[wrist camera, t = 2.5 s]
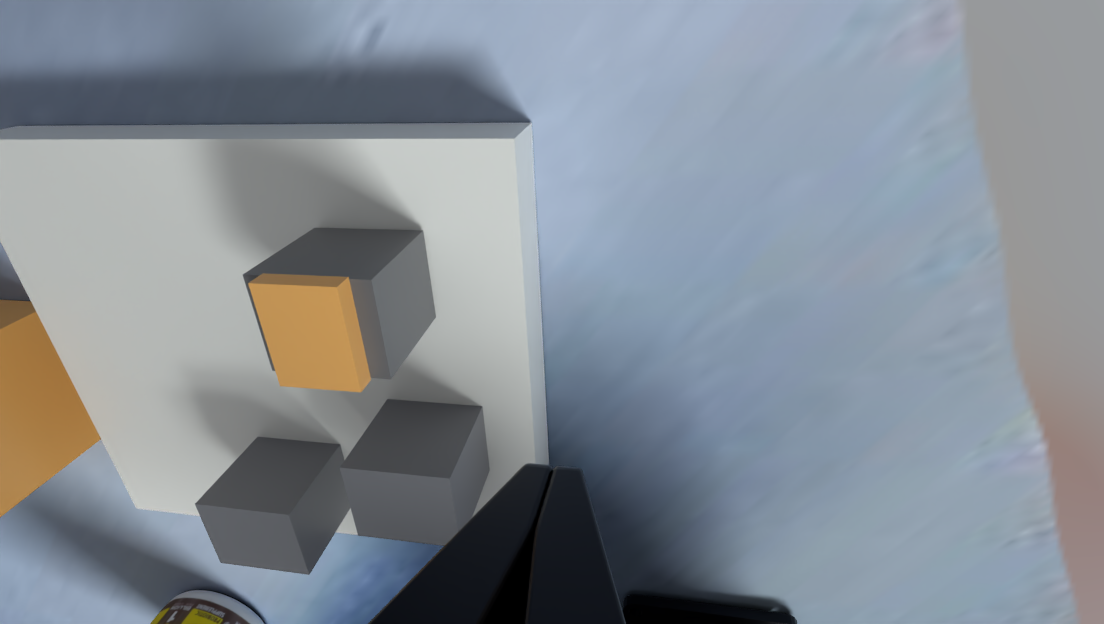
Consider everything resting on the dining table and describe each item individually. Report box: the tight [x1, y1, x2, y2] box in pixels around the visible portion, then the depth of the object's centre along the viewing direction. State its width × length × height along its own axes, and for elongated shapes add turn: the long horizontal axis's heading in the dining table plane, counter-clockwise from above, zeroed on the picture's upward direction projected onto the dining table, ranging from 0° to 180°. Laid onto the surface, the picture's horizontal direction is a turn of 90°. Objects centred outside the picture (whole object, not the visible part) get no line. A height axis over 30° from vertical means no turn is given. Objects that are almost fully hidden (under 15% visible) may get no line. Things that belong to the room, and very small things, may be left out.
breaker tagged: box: [243, 228, 436, 392], centre depth 14 cm, size 3×3×4 cm
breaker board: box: [0, 123, 549, 575], centre depth 18 cm, size 16×14×5 cm
